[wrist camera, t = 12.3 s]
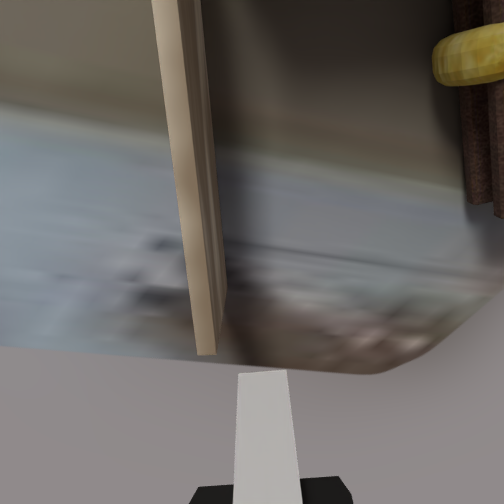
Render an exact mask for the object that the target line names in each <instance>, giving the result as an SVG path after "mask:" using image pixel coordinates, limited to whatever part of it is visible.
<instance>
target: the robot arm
mask: <svg viewBox="0 0 504 504" xmlns="http://www.w3.org/2000/svg"><path fill="white" fill-rule="evenodd" d="M189 504H353V500H352V496H351V493H350V492H349V490H348V489H347V488H346V486H345V485H344V483H343V482H342V481H341V479H340V478H339V476H332V477H319V478H303V479H300V478H299V471H298V463H297V454H296V446H295V437H294V429H293V421H292V413H291V405H290V396H289V388H288V380H287V371H286V370H275V371H262V372H249V373H239V374H238V398H237V420H236V444H235V469H234V484H233V485H219V486H205V487H198V489H197V490H196V492H195V494H194V496H193V498H192V499H191V501H190V503H189Z"/></svg>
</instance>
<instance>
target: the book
mask: <svg viewBox="0 0 504 504" xmlns="http://www.w3.org/2000/svg"><path fill="white" fill-rule="evenodd" d="M452 5H453V18H454V31H455V34H452V35H450V36H448V37H446V38H444V39H442V40H440V41H439V43H438V44H437V45H436V46H435V47H434V49H433V54H432V67H433V74H434V76H435V78H436V80H437V82H439V83H441V84H443V85H445V86H459V98H460V112H461V125H462V138H463V152H464V165H465V179H466V192H467V202H469V203H471V204H473V205H479V204H483V203H488V202H492V201H493V207H494V215H495V216H497V217H499V218H501V219H504V0H452Z"/></svg>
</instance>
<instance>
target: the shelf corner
mask: <svg viewBox="0 0 504 504" xmlns="http://www.w3.org/2000/svg"><path fill="white" fill-rule="evenodd" d="M152 7H153V15H154V23H155V31H156V38H157V46H158V54H159V61H160V69H161V77H162V84H163V92H164V100H165V108H166V115H167V123H168V131H169V138H170V146H171V154H172V161H173V169H174V177H175V185H176V192H177V200H178V208H179V215H180V223H181V231H182V239H183V246H184V254H185V262H186V269H187V277H188V285H189V292H190V300H191V308H192V316H193V323H194V331H195V339H196V346H197V354H198V355H216V354H217V348H218V342H219V336H220V330H221V324H222V318H223V312H224V306H225V300H226V294H227V288H228V287H227V277H226V266H225V255H224V245H223V234H222V224H221V213H220V202H219V192H218V181H217V170H216V160H215V149H214V138H213V128H212V117H211V106H210V96H209V85H208V74H207V64H206V53H205V43H204V32H203V21H202V11H201V0H152Z"/></svg>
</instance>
